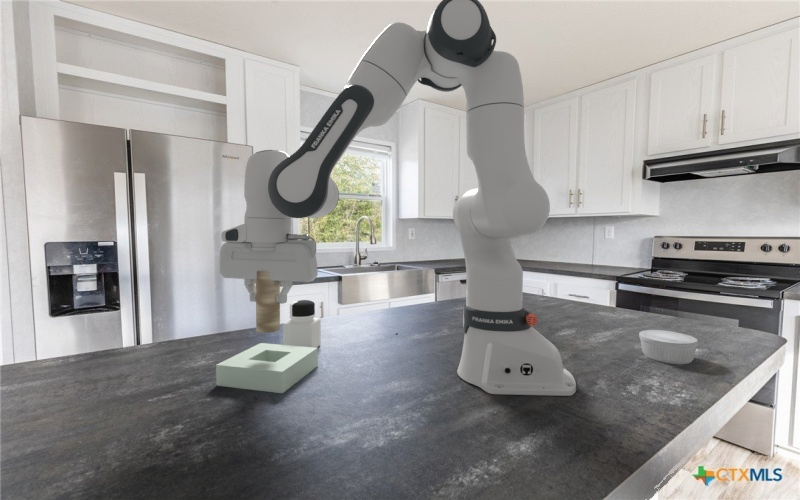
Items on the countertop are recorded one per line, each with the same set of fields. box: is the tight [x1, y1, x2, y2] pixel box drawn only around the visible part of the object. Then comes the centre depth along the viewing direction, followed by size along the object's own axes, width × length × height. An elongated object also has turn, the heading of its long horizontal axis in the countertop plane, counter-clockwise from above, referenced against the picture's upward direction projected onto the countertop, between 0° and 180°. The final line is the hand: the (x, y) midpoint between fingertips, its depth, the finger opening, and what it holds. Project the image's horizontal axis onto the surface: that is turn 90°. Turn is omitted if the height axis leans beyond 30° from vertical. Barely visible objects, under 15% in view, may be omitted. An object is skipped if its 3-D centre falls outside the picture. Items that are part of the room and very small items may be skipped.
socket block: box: [215, 342, 319, 394], centre depth 74 cm, size 14×14×4 cm
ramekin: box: [638, 329, 699, 365], centre depth 86 cm, size 11×11×5 cm
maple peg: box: [255, 271, 281, 334], centre depth 74 cm, size 4×4×12 cm
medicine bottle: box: [282, 299, 322, 348], centre depth 91 cm, size 7×7×12 cm
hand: (268, 302), depth 74 cm, fingers closed on maple peg, 4 cm apart
